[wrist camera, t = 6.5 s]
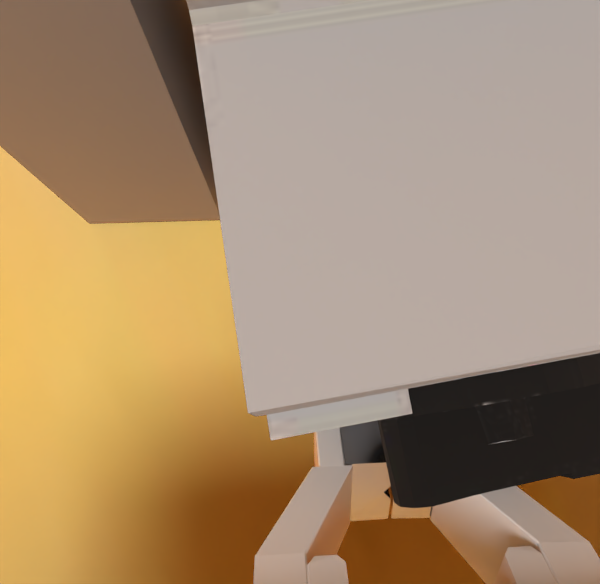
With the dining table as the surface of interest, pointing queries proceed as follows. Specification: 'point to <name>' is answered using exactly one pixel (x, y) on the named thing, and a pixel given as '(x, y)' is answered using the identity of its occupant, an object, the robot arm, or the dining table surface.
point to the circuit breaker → (414, 227)
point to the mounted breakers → (108, 107)
